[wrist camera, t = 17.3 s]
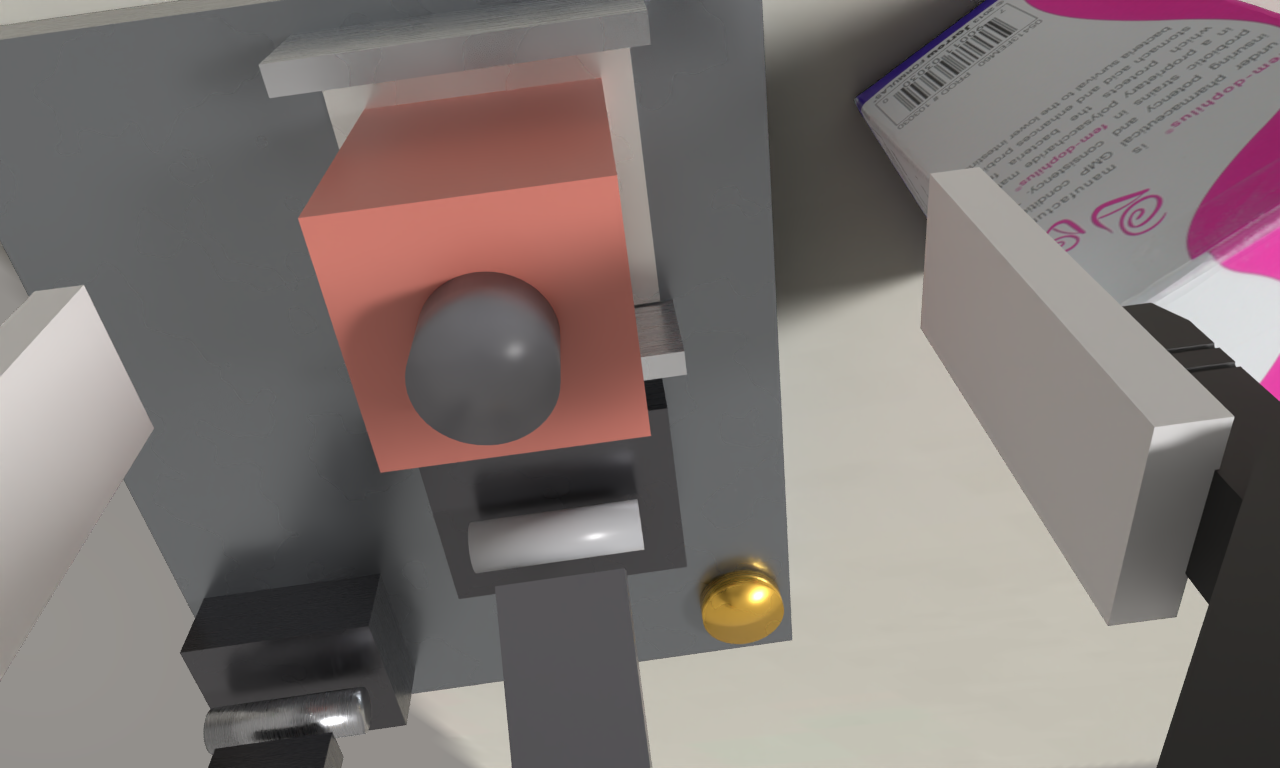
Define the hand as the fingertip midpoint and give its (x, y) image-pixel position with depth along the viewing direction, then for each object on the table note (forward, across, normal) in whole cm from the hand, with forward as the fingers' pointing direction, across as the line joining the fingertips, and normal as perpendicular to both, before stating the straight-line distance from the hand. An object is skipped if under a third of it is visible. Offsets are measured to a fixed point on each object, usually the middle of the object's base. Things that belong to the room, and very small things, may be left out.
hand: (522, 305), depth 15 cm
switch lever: (+4, -1, -8) cm, 9 cm away
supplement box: (+9, +11, -1) cm, 15 cm away
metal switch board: (+9, -3, -6) cm, 11 cm away
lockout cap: (+7, -1, -1) cm, 7 cm away
